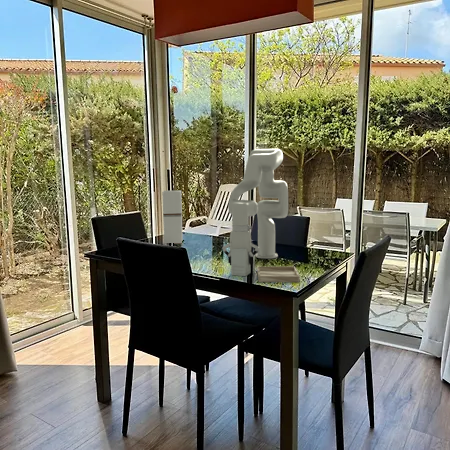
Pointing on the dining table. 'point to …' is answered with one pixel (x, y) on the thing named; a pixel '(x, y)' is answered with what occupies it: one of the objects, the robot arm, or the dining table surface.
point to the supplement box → (240, 262)
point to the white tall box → (172, 217)
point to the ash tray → (278, 274)
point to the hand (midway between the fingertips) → (240, 264)
